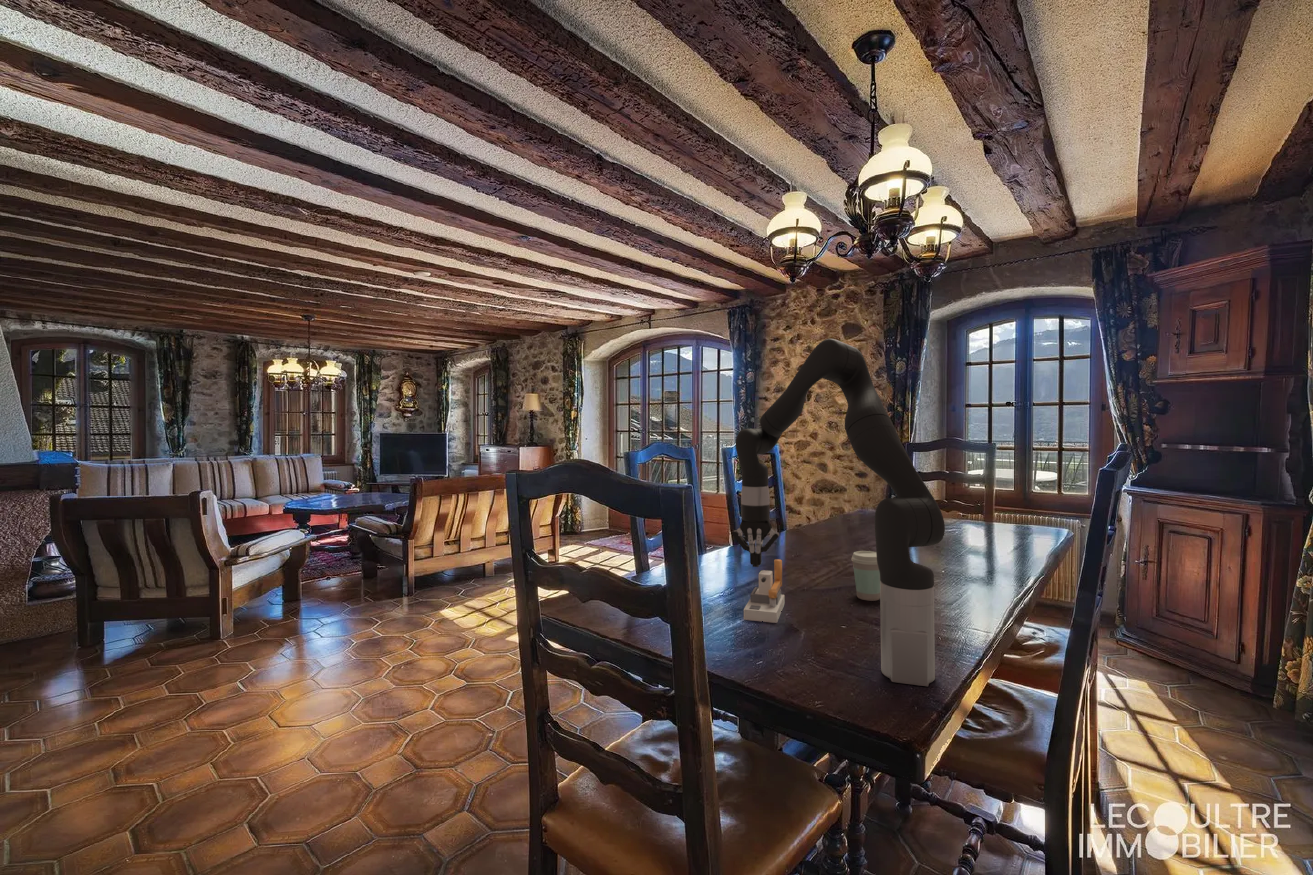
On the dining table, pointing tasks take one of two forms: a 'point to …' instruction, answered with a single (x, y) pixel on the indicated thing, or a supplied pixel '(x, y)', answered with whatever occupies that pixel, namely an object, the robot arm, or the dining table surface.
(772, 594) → the crank handle
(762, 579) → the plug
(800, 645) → the dining table surface
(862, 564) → the coffee cup
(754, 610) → the white stepped base
